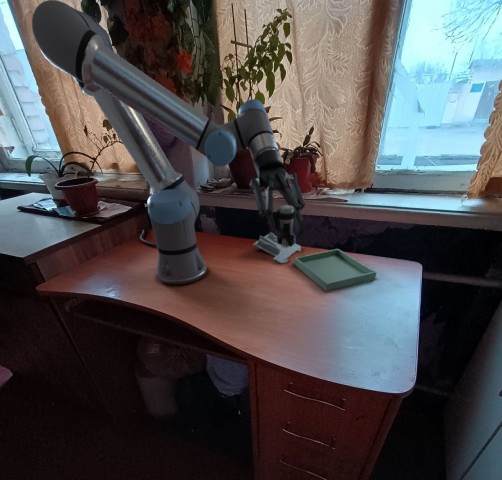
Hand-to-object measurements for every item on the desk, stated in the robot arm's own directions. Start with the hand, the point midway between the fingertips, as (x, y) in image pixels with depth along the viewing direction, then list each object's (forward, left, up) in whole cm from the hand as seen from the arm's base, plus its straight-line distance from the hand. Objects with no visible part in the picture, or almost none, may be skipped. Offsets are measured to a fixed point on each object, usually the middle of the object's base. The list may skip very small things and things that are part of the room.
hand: (291, 236), depth 83 cm
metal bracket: (-21, +5, -14) cm, 25 cm away
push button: (-4, 0, -4) cm, 5 cm away
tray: (0, +15, -13) cm, 20 cm away
